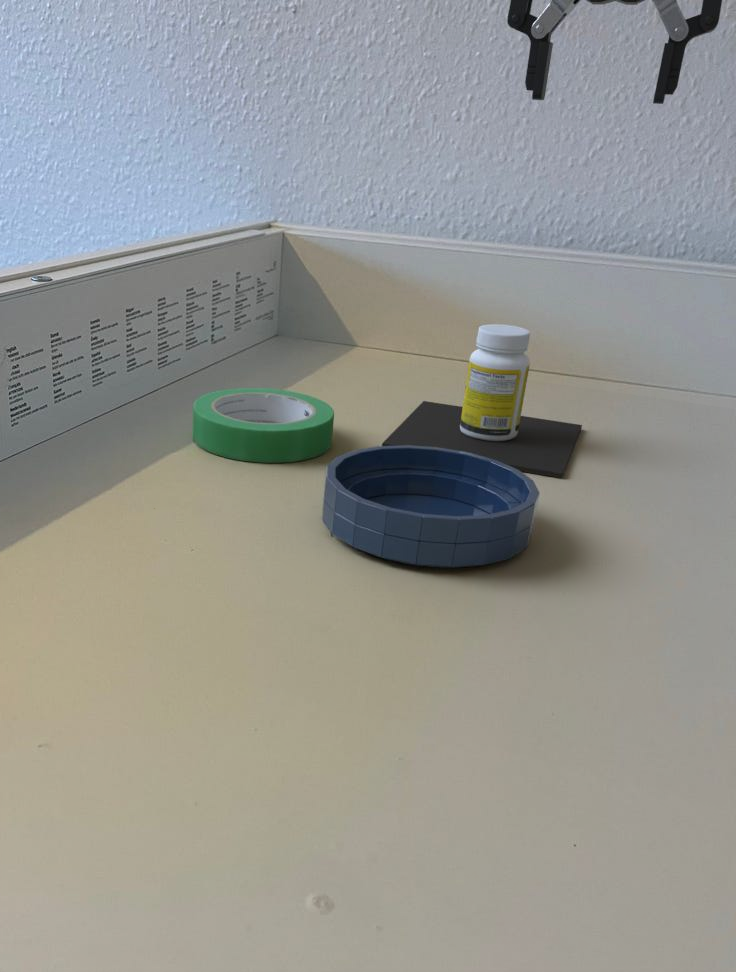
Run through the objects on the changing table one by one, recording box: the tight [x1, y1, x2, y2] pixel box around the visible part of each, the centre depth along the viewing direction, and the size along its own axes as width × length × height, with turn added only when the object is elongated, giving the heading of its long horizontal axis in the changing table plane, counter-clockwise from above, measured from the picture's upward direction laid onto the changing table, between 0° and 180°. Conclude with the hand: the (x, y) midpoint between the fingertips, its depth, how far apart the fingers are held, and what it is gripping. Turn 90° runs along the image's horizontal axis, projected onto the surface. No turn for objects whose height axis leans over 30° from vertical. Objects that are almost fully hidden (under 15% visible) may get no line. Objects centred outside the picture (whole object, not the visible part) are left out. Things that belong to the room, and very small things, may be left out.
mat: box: [381, 400, 583, 479], centre depth 82 cm, size 14×14×1 cm
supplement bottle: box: [460, 323, 531, 441], centre depth 79 cm, size 5×5×8 cm
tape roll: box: [192, 387, 335, 464], centre depth 78 cm, size 11×11×3 cm
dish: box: [321, 445, 540, 569], centre depth 63 cm, size 13×13×4 cm
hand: (596, 101), depth 73 cm, fingers open, 8 cm apart
